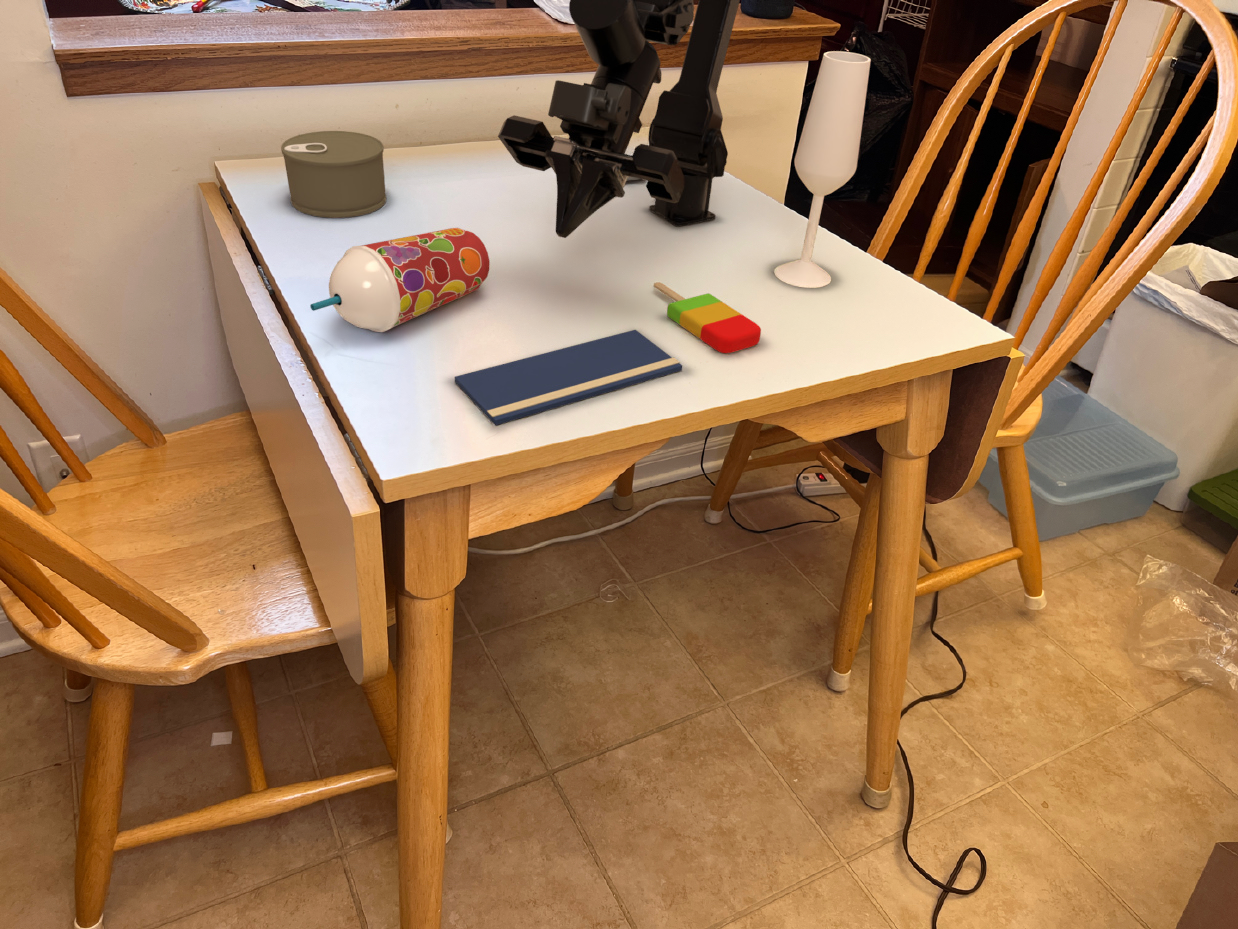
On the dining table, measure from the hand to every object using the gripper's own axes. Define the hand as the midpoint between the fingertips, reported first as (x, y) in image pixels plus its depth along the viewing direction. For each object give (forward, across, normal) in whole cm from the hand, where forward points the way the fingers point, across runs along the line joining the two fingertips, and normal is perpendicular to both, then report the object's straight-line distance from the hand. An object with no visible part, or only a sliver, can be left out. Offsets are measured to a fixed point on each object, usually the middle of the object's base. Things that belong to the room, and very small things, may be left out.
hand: (560, 235), depth 90 cm
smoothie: (+3, -11, +4) cm, 12 cm away
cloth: (+13, +7, -1) cm, 15 cm away
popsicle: (+1, +13, +11) cm, 17 cm away
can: (-2, -38, +14) cm, 41 cm away
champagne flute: (-11, +19, +23) cm, 32 cm away
